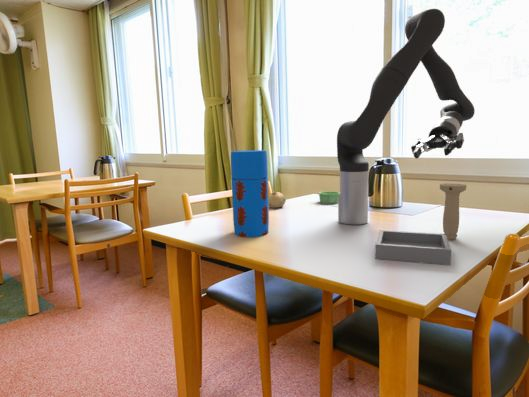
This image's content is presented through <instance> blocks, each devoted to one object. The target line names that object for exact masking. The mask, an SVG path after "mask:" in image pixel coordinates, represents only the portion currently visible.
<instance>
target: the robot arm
mask: <svg viewBox="0 0 529 397" xmlns="http://www.w3.org/2000/svg"><path fill="white" fill-rule="evenodd" d="M445 20H446V19H445V14H444V13H443V11H442V10H441V9H438V8H429V9H425V10H423V11H421V12H419V13H416V14H415V15H413V16H411V17H409V18H408V19H407V21H406V23H405V26H404V34H405V38H406V39H407V42H405V44H404V45H403V46H402V47H401V48H400V49H399V50H398V51H397V52H395V54H394V55H392V57H391V58H389V60H387V62H386V63H385V64H384V65H383V66H382V68H381V69H380V71H379V72H378V74H377V76H376V77H375V80H374V81H373V83H372V85H371V90H370V94H369V99H368V102H367V104H366V106H365V108H364V109H363V111H362V112H361V114H360V115H359V116H358V117H357V119H356V120H353V121H352V120H351V121H346V122H344V123H342V124H340V126H339V128H338V130H337V134H336V154H337V157H336V158H337V162H338V165H339V193H340V194H339V195H338V203H337V204H338V205H337V206H338V208H337V210H338V211H337V212H338V213H337V214H338V216H337V217H338V218H337V219H338V220H337V221H338V222H337V223H341V224H345V225H365V224H367V223H368V221H369V220H368V218H369V174H370V173H369V171H370V170H369V169H370V165H369V162H368V161H367V160H366V158H365V157H364V152H363V150H365V149H367V148H368V147H369V146H371V144H372V143H373V141H374V139H375V138H376V136H377V133H378V131H379V129H380V127H381V126H382V124H383V121H384V119H385V118H386V116H387V115H388V113H389V111H390V110H391V109H392V107H393V105H394V103H395V102H396V100H397V99H398V97H399V96H400V95H401V93H402V91H403V90H404V88H405V87H406V85H407V84H408V82H409V80H410V78H411V76H412V75H413V74H414V72H415V71H416V69H417V67H419V64H420V63H422V65H423V66H424V68H425V70H426V72H427V74H428V75H429V76H428V77H429V78H430V80H431V82H432V85H433V87H434V89H435V93H436V96H437V97H438V99H439V100H441V101H443V102H445V101H454V103H450V104H447V105H445V106H443V107H441V109H440V111H439V112H440V113H439V114H440V118H439V119H438V121H436V123H435V124H434V125H433V127H432V129H431V130H430V132H429V133H428V136H427V138H425V139H424V140H422V139H421V138H416V139H415V141H414V142H413V143H412V144H411V146H410V148H411V153H412V154H413V157H414V158H415V159H419V158H420V156H421V155H422V153H424V152H426V153H427V152H429V151H432V150H435V149H443V152H444V155H445V156H446V157H447V156H449V154H451V153H452V151H454V150H455V149H461V148H462V147H463V144H464V142H465V138H464V133H463V132H459V131H460V129H461V128H462V126H463V122H466V121H469V120H471V119H472V118H474V115H475V113H476V112H475V107H474V104H473V103H472V101H471V100H470V98H468V97H467V96H466V95H465V93H464V92H463V90H462V88H461V87H460V85H459V82H458V80H457V78H456V75H455V72H454V70H453V69H452V68H451V66H450V65H449V64H448V63H447V61H445V60H444V59H443V58H442V57H441V56H440V55H439V54H438V52H437V51H436V50H435V47H434V46H433V45H434V43H436V41H437V40H438V39H439V37H440V36H441V34H442V32H443V31H444V27H445V23H446V21H445Z"/></svg>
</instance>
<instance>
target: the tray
mask: <svg viewBox="0 0 529 397" xmlns="http://www.w3.org/2000/svg"><path fill="white" fill-rule="evenodd" d="M376 239H377V240H376V242H375V260H385V261H397V262H398V261H399V262H408V261H412V262H411V263H420V262H424V263H423V264H431V263H435V264H434V265H443V264H445V266H451V259H452V249H451V246H450V243H449V240H448V239H447V237H446V234H444V233H437V232H436V233H434V232H417V231H415V232H414V231H399V230H385V229H383V230H381V229H379V232H378V235H377V238H376Z"/></svg>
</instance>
